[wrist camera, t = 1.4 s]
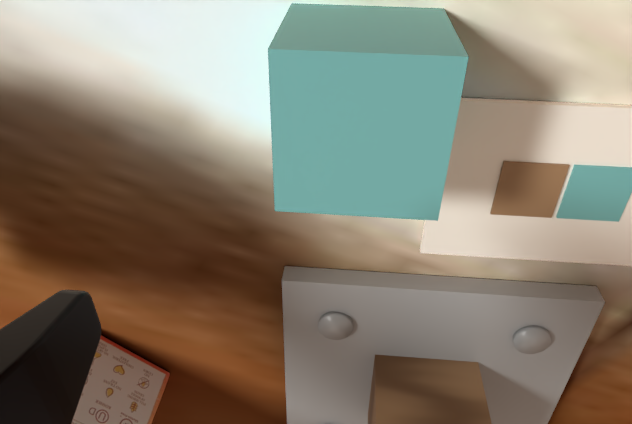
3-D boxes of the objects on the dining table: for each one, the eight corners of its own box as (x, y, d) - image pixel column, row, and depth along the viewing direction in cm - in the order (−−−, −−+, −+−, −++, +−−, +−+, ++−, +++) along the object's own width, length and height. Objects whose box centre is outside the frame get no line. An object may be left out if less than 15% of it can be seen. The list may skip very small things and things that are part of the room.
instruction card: (419, 248, 22) (420, 254, 22) (444, 96, 18) (446, 101, 18) (656, 263, 22) (661, 269, 21) (737, 109, 17) (743, 114, 17)
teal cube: (293, 138, 20) (274, 211, 16) (292, 2, 17) (268, 48, 13) (423, 144, 19) (438, 220, 15) (443, 7, 17) (468, 56, 12)
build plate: (290, 436, 31) (287, 457, 30) (284, 265, 23) (280, 285, 22) (520, 456, 30) (525, 478, 29) (596, 286, 22) (607, 307, 21)
